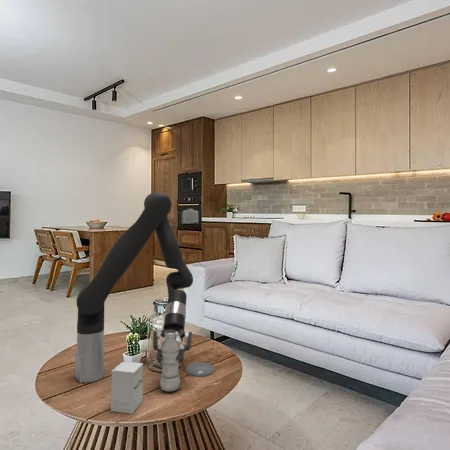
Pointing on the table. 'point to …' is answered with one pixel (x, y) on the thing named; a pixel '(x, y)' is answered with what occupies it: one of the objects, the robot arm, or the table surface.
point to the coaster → (200, 369)
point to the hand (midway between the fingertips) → (169, 361)
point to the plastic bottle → (170, 362)
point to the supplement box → (127, 387)
